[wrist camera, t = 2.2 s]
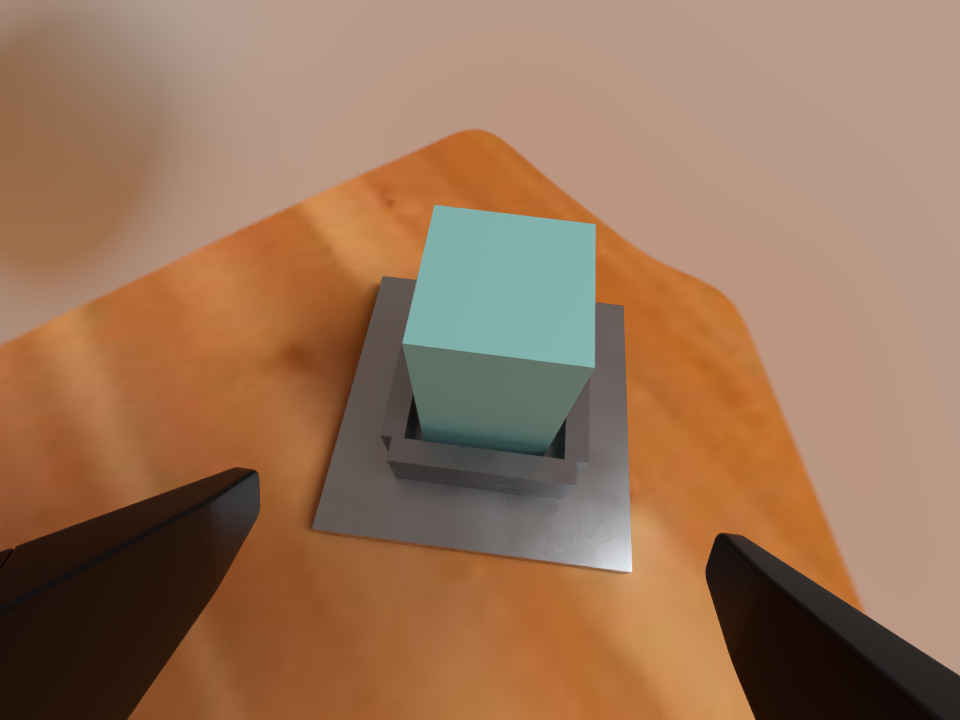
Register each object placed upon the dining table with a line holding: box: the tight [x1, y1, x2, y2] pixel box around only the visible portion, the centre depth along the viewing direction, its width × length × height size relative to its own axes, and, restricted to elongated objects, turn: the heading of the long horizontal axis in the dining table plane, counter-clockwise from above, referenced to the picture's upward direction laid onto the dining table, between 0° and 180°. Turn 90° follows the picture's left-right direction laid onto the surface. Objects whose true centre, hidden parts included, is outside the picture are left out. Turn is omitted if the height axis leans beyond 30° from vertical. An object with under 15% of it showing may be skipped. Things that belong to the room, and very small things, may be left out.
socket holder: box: [312, 276, 632, 574], centre depth 22 cm, size 14×14×4 cm
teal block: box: [402, 205, 595, 456], centre depth 19 cm, size 6×6×10 cm
